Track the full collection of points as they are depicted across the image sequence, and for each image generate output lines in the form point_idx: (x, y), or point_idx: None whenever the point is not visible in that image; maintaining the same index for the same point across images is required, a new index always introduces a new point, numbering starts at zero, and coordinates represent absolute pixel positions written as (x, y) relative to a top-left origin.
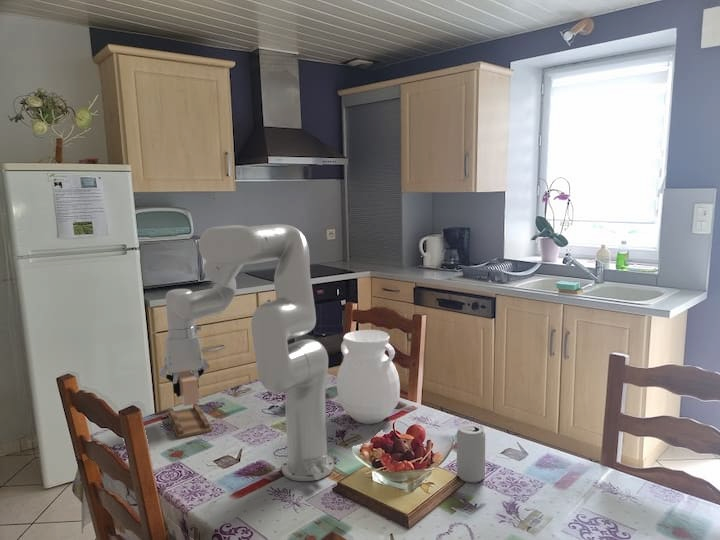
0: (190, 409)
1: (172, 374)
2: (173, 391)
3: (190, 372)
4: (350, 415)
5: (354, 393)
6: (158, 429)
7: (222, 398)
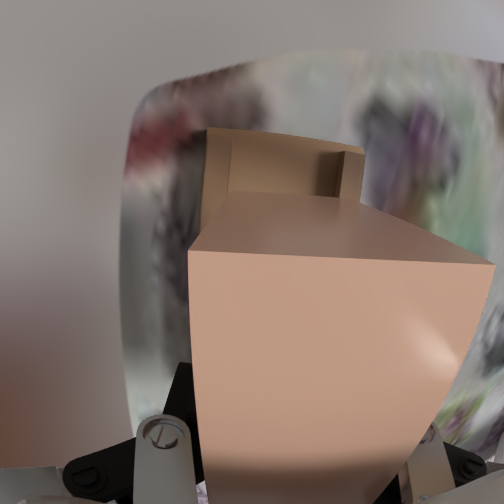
0: (321, 160)
1: (141, 494)
2: (179, 363)
3: (381, 483)
4: (500, 447)
5: None
6: (141, 261)
7: (467, 110)
